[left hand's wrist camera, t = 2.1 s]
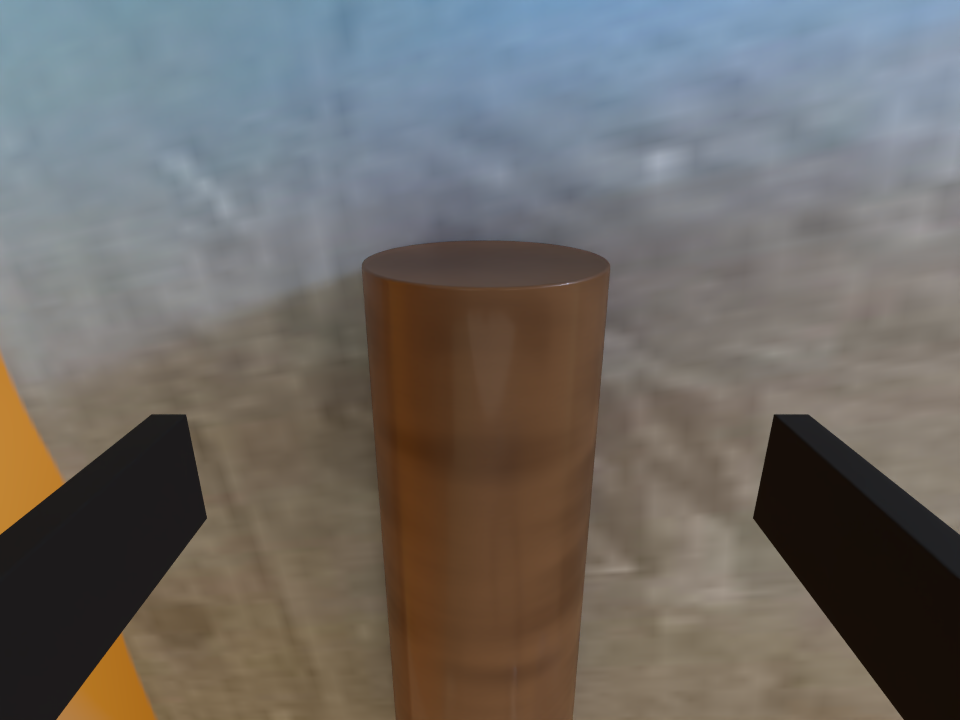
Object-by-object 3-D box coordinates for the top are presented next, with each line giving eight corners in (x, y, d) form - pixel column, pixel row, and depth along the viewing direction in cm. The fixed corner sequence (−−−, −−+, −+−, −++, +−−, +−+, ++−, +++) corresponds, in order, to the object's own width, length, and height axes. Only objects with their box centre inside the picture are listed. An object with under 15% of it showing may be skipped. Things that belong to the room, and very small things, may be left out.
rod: (384, 240, 21) (332, 287, 14) (586, 240, 21) (639, 287, 14) (413, 717, 30) (390, 894, 23) (554, 718, 30) (576, 896, 23)
